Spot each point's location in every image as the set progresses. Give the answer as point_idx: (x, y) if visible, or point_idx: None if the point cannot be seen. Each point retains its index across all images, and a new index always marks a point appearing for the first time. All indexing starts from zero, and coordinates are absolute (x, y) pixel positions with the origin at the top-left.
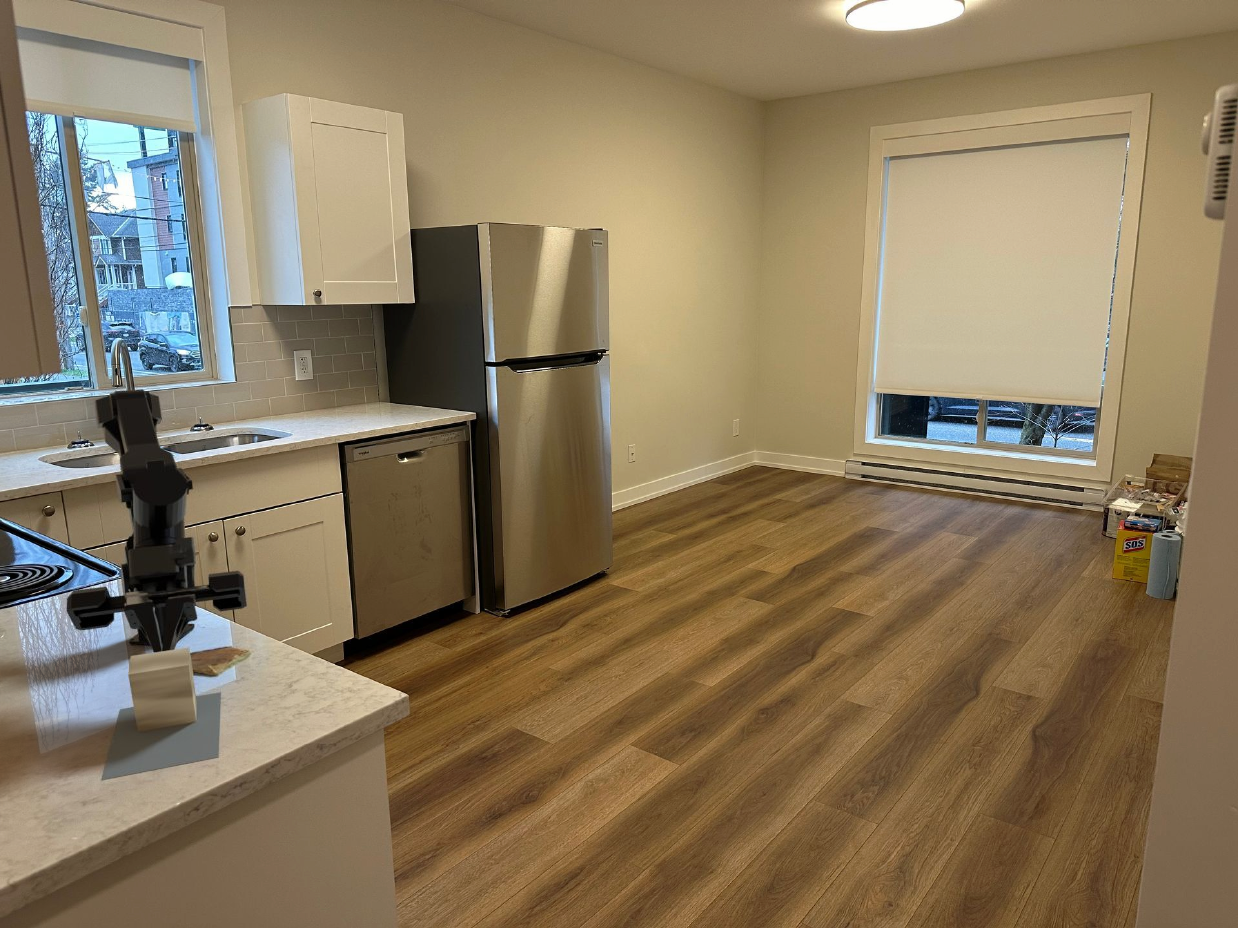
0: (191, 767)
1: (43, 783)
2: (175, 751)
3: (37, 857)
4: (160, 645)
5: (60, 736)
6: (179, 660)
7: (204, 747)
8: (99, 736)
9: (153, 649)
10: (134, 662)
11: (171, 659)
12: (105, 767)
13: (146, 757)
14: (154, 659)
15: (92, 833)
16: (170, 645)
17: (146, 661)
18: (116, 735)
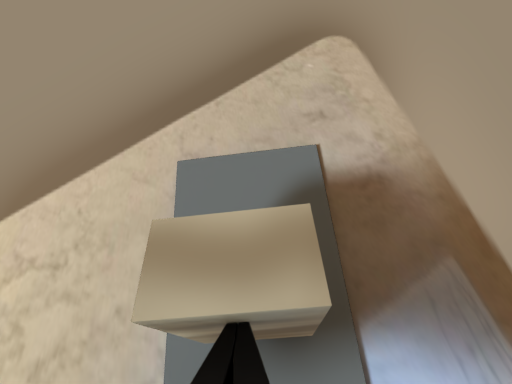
0: (211, 156)
1: (396, 165)
2: (232, 190)
3: (334, 48)
4: (233, 379)
5: (451, 316)
6: (172, 245)
7: (194, 189)
8: (371, 290)
9: (260, 362)
10: (307, 259)
11: (194, 254)
12: (320, 172)
13: (270, 184)
14: (245, 266)
15: (295, 68)
16: (196, 374)
17: (269, 260)
18: (336, 269)
